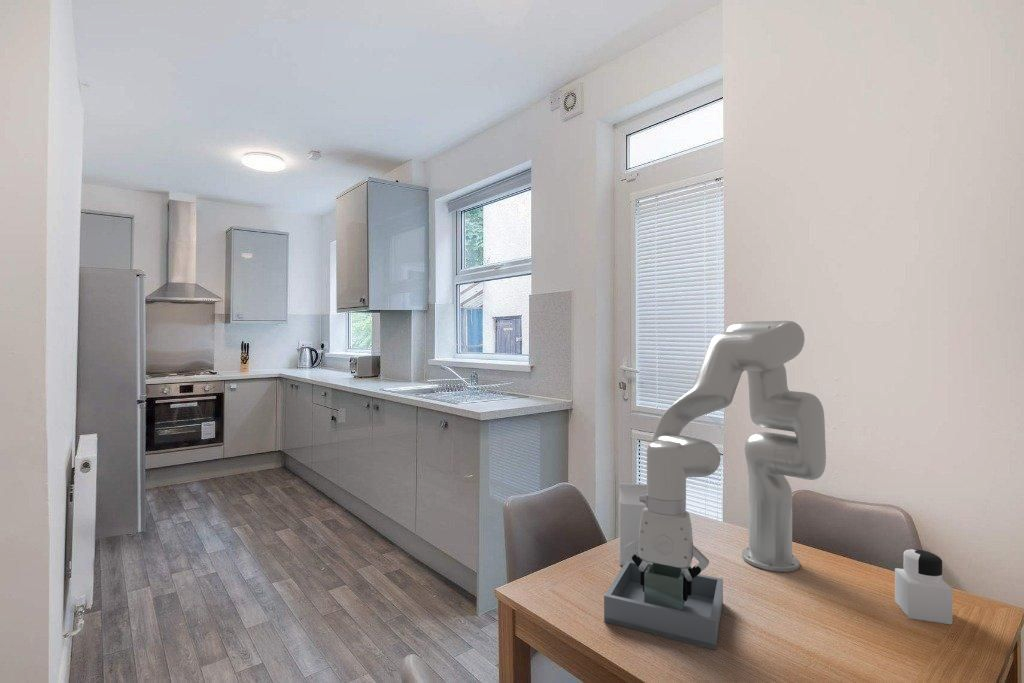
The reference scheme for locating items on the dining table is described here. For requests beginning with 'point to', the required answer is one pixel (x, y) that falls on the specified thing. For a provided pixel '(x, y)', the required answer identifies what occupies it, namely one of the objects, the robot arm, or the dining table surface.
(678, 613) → the charcoal crate
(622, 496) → the milk carton
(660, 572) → the teal crate
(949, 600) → the medicine bottle
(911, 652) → the dining table surface
